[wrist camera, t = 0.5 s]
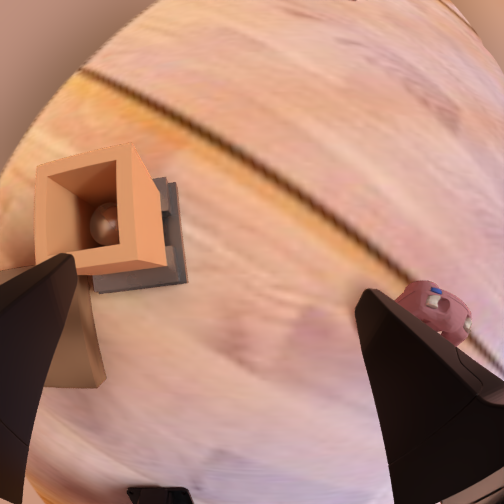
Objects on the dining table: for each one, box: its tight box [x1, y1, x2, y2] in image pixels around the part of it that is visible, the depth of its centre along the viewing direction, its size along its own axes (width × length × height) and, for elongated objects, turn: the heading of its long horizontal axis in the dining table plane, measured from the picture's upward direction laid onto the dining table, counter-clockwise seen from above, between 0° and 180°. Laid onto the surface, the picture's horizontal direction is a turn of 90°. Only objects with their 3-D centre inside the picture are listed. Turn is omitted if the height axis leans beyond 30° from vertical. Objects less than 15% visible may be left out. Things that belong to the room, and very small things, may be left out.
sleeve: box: [34, 142, 167, 275], centre depth 14 cm, size 5×5×8 cm
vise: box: [90, 177, 189, 294], centre depth 18 cm, size 8×7×8 cm
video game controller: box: [395, 281, 472, 347], centre depth 22 cm, size 10×5×7 cm, turn 63°
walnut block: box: [0, 265, 106, 388], centre depth 19 cm, size 10×9×2 cm
